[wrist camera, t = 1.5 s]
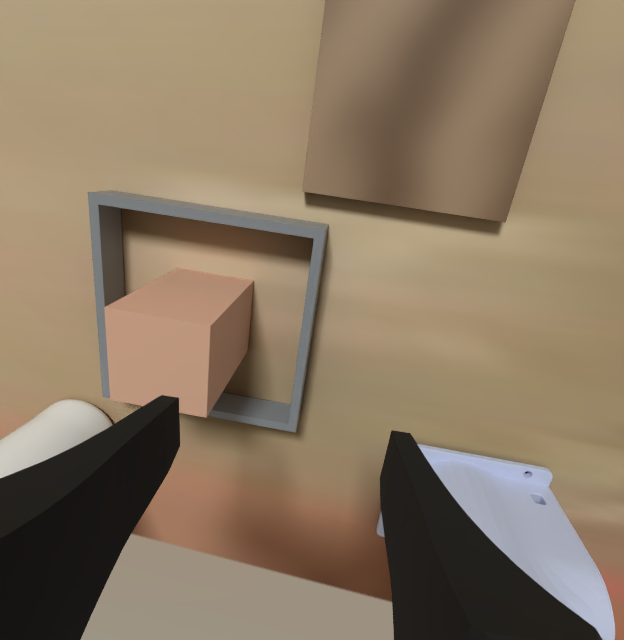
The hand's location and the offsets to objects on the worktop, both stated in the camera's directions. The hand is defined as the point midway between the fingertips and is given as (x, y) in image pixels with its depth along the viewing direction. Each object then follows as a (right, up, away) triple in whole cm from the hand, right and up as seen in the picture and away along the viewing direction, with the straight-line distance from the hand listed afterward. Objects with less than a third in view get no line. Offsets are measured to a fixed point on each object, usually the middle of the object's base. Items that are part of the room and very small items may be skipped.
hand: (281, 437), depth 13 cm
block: (-5, +4, +10) cm, 12 cm away
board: (+6, +14, +5) cm, 16 cm away
